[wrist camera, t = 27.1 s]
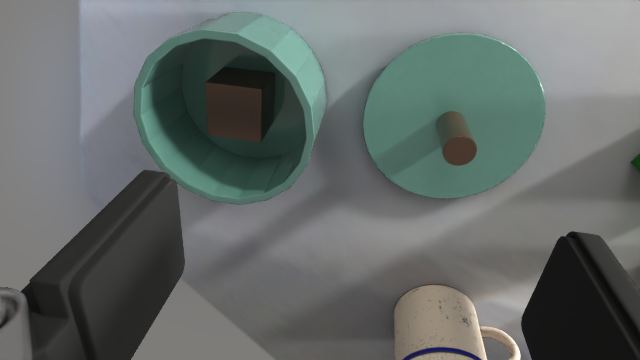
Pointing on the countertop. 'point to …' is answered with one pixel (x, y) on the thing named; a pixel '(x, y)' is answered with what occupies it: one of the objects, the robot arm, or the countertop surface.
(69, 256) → the robot arm
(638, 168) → the milk carton
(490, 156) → the lid
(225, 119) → the block
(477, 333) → the teacup with lid
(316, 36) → the countertop surface
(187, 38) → the bowl
